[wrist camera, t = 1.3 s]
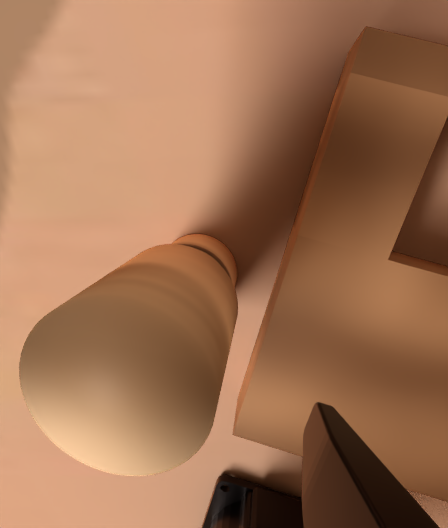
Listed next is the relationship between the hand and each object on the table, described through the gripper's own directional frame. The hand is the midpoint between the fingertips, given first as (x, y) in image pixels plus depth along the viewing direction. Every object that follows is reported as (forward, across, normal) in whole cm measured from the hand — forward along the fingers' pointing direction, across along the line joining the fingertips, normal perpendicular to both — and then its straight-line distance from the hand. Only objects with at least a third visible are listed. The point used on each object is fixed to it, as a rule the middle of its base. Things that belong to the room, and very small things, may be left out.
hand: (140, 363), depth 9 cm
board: (+8, -9, -2) cm, 12 cm away
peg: (+8, 0, 0) cm, 8 cm away
